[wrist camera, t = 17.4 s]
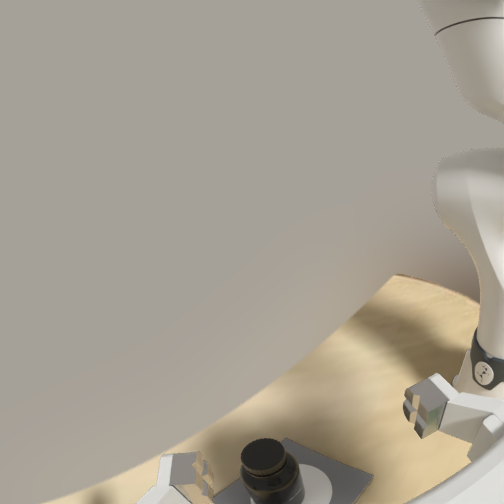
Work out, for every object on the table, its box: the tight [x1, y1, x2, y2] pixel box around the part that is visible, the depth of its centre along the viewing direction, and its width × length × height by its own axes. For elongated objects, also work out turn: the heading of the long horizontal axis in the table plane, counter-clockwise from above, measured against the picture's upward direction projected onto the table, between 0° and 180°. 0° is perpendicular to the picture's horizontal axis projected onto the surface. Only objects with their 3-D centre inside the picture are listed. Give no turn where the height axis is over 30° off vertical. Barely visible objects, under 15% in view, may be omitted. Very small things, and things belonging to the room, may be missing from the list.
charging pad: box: [213, 438, 374, 504], centre depth 27 cm, size 16×16×1 cm
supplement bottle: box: [240, 438, 305, 504], centre depth 26 cm, size 7×7×12 cm
